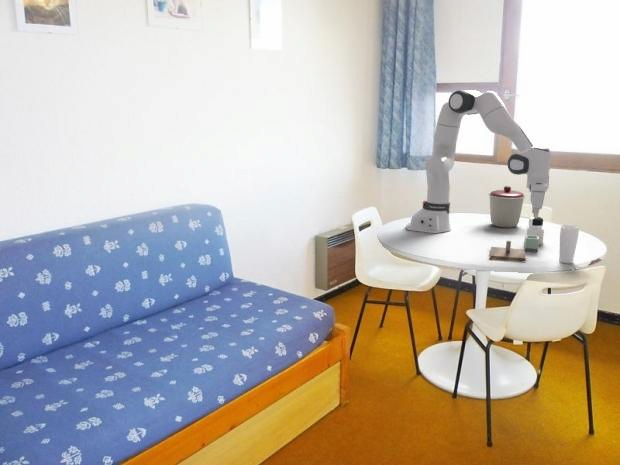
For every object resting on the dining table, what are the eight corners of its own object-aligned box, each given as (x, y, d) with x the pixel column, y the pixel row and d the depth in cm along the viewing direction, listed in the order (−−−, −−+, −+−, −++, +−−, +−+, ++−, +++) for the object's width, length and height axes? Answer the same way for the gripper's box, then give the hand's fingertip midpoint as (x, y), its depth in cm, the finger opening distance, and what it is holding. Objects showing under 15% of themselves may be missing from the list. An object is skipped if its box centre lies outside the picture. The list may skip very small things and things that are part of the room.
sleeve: (524, 251, 248) (525, 238, 247) (524, 248, 253) (525, 235, 251) (537, 252, 246) (539, 239, 245) (537, 249, 251) (538, 236, 250)
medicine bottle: (541, 241, 264) (544, 216, 261) (542, 245, 258) (545, 219, 255) (525, 239, 266) (527, 215, 263) (525, 243, 260) (528, 218, 257)
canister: (480, 226, 293) (483, 186, 287) (494, 220, 306) (497, 181, 300) (514, 231, 281) (518, 190, 276) (527, 225, 294) (531, 185, 289)
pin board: (490, 258, 237) (491, 244, 236) (490, 249, 250) (491, 235, 249) (525, 261, 233) (526, 246, 232) (524, 252, 246) (525, 238, 244)
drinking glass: (554, 259, 236) (557, 225, 232) (569, 259, 236) (573, 224, 233) (562, 264, 229) (566, 229, 226) (578, 264, 230) (582, 228, 226)
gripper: (528, 180, 253) (526, 210, 256) (531, 187, 234) (528, 219, 237) (543, 180, 251) (541, 210, 254) (547, 188, 232) (544, 220, 235)
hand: (534, 215), depth 246 cm, fingers open, 8 cm apart
